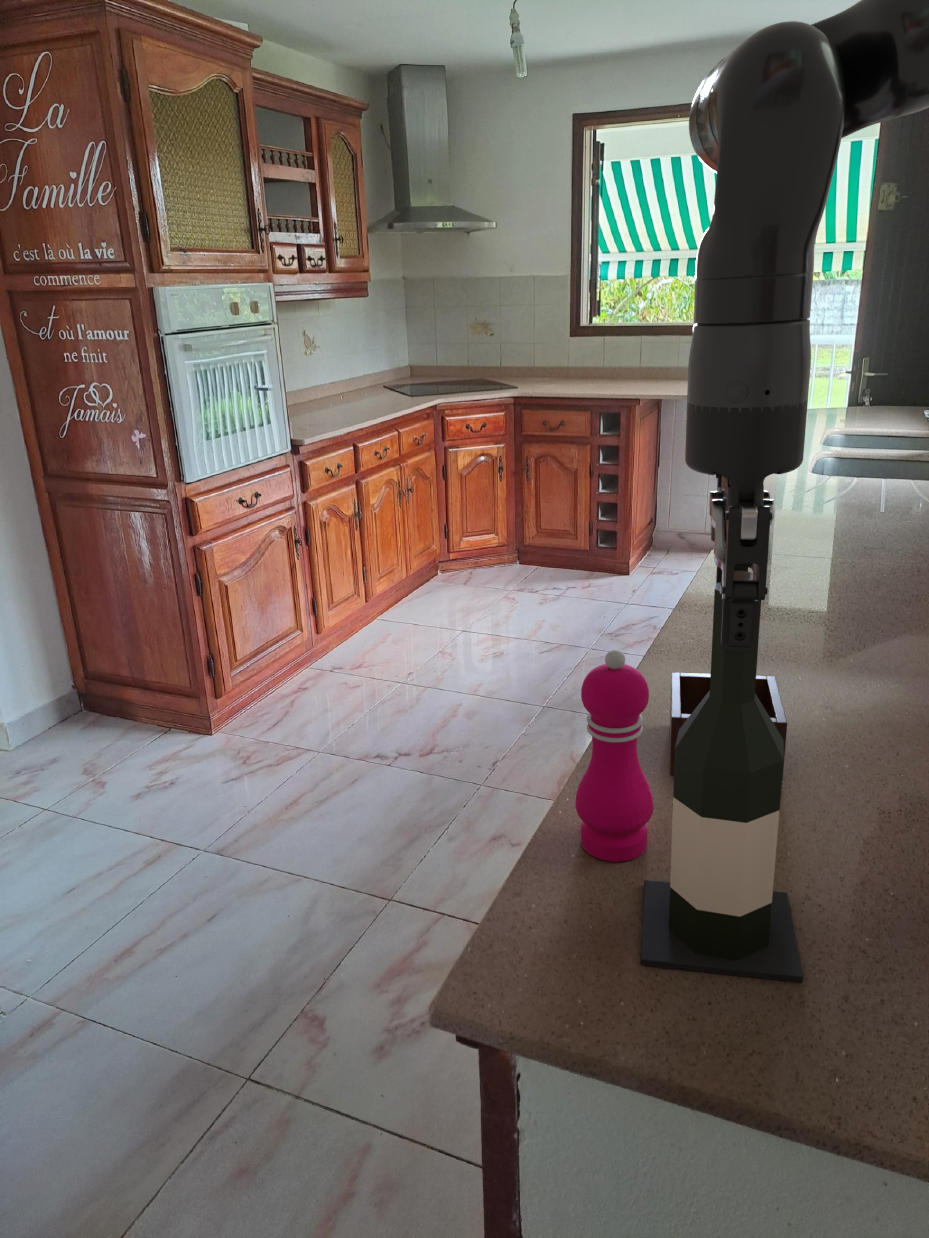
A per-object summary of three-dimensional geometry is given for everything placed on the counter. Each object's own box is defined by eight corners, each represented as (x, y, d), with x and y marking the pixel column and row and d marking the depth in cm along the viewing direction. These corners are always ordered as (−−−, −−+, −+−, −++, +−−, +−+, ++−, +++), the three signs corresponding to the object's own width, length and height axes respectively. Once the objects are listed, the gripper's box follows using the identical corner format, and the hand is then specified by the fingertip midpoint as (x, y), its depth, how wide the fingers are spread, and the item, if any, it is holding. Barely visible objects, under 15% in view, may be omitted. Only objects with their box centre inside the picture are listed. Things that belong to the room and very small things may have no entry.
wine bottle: (749, 887, 76) (773, 554, 65) (789, 955, 68) (824, 590, 58) (654, 896, 76) (663, 563, 65) (684, 965, 68) (699, 600, 57)
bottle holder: (771, 730, 103) (775, 676, 101) (782, 782, 93) (787, 722, 90) (669, 725, 106) (671, 672, 103) (669, 775, 95) (671, 717, 93)
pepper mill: (641, 873, 80) (645, 671, 73) (565, 856, 83) (562, 661, 76) (660, 829, 86) (665, 640, 79) (588, 815, 89) (587, 631, 82)
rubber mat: (786, 897, 75) (787, 892, 75) (802, 982, 66) (803, 976, 66) (644, 885, 78) (644, 879, 78) (640, 965, 69) (640, 959, 69)
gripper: (825, 408, 50) (802, 671, 56) (793, 381, 63) (777, 596, 69) (689, 412, 51) (680, 667, 57) (685, 384, 64) (678, 594, 70)
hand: (733, 628), depth 63 cm, fingers open, 8 cm apart
